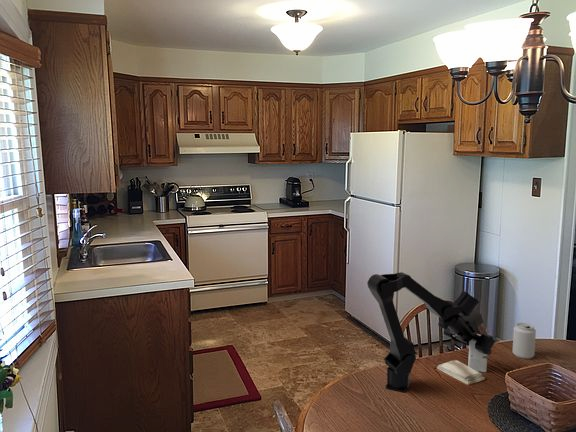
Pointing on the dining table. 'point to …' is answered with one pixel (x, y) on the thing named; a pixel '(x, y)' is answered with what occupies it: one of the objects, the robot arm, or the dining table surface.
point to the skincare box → (476, 358)
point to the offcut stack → (461, 372)
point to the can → (524, 340)
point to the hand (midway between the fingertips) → (479, 349)
